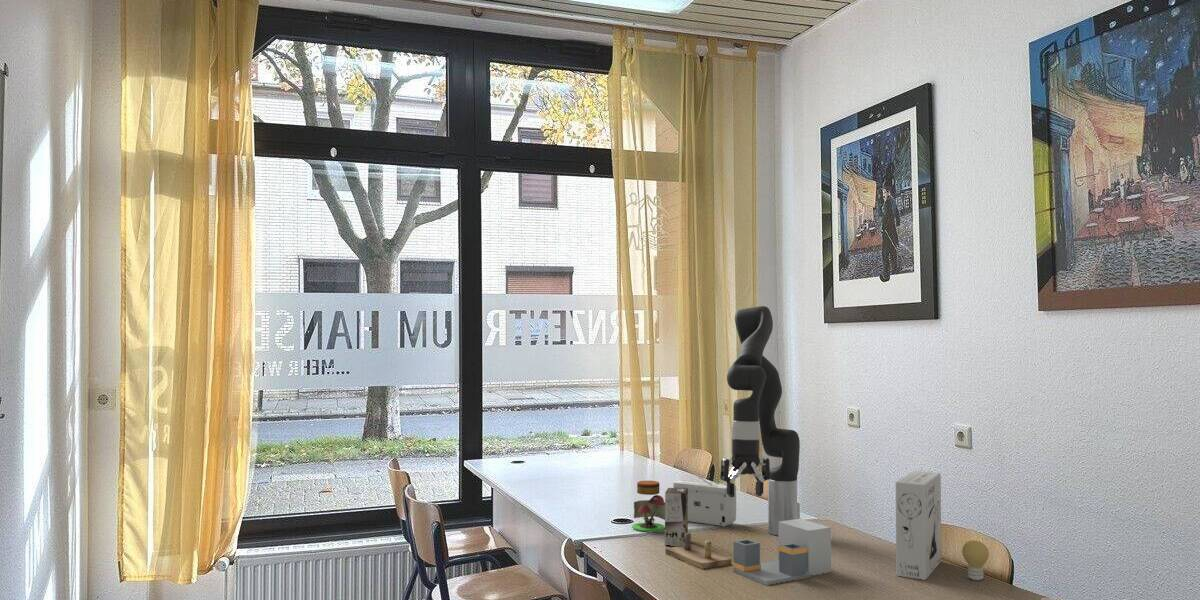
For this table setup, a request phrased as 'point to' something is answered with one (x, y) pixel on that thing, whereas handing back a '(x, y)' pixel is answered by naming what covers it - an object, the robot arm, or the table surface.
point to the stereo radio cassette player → (708, 501)
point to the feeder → (801, 534)
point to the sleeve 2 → (792, 559)
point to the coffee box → (676, 516)
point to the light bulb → (975, 558)
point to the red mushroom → (649, 507)
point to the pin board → (698, 554)
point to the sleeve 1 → (746, 555)
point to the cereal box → (918, 524)
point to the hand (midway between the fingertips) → (745, 496)
